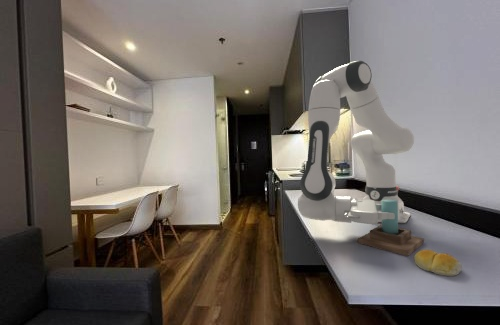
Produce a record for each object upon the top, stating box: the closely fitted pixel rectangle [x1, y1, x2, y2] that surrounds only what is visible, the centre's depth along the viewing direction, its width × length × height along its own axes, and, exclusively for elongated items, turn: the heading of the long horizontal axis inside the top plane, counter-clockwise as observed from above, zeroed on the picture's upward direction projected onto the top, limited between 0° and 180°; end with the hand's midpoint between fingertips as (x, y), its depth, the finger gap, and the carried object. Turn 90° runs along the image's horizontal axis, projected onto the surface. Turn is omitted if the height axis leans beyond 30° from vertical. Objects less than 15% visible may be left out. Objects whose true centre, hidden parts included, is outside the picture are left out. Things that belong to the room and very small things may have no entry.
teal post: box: [381, 200, 399, 235], centre depth 75 cm, size 4×4×12 cm
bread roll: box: [413, 249, 463, 277], centre depth 59 cm, size 8×9×4 cm
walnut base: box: [357, 224, 425, 257], centre depth 75 cm, size 14×14×4 cm
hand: (392, 212), depth 74 cm, fingers open, 8 cm apart
